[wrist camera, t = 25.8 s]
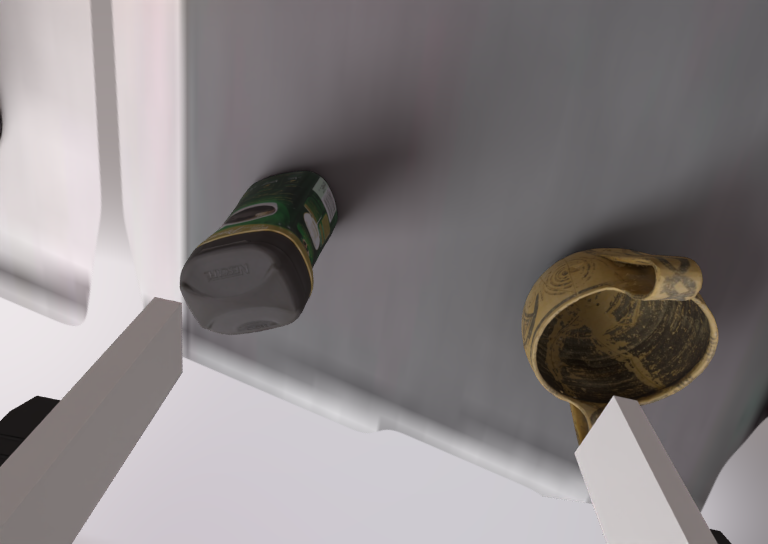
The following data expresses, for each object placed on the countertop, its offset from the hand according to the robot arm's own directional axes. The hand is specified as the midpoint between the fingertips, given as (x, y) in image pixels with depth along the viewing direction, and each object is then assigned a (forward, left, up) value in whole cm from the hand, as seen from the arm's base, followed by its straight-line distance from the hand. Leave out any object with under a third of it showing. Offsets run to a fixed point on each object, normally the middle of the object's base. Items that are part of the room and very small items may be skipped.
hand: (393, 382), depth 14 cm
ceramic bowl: (+24, -13, -35) cm, 44 cm away
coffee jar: (-10, -11, -35) cm, 38 cm away
